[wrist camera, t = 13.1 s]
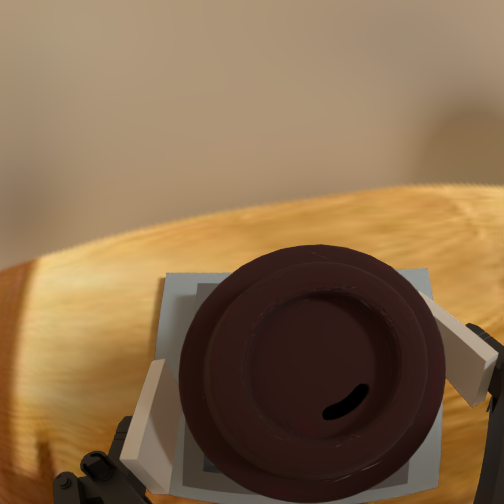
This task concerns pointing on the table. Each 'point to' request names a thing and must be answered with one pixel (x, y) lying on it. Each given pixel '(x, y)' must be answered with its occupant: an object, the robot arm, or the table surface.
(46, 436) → the table surface
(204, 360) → the coffee cup
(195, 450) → the pocket plate
